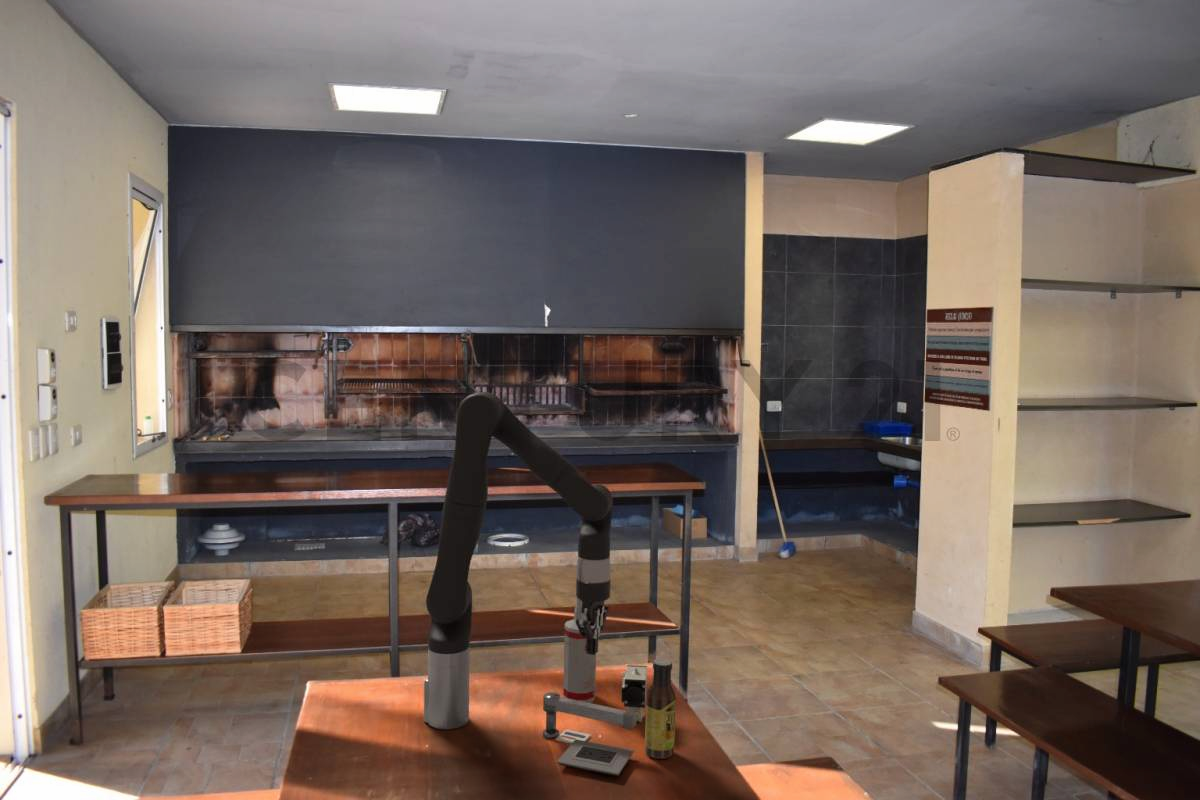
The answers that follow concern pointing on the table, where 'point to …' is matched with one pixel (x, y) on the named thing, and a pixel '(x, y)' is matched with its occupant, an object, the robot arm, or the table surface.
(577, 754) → the electrical outlet
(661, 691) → the sauce bottle
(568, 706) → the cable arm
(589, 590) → the robot arm
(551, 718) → the arm post
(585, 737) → the label plate
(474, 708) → the table surface
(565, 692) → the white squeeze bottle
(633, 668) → the pneumatic valve
